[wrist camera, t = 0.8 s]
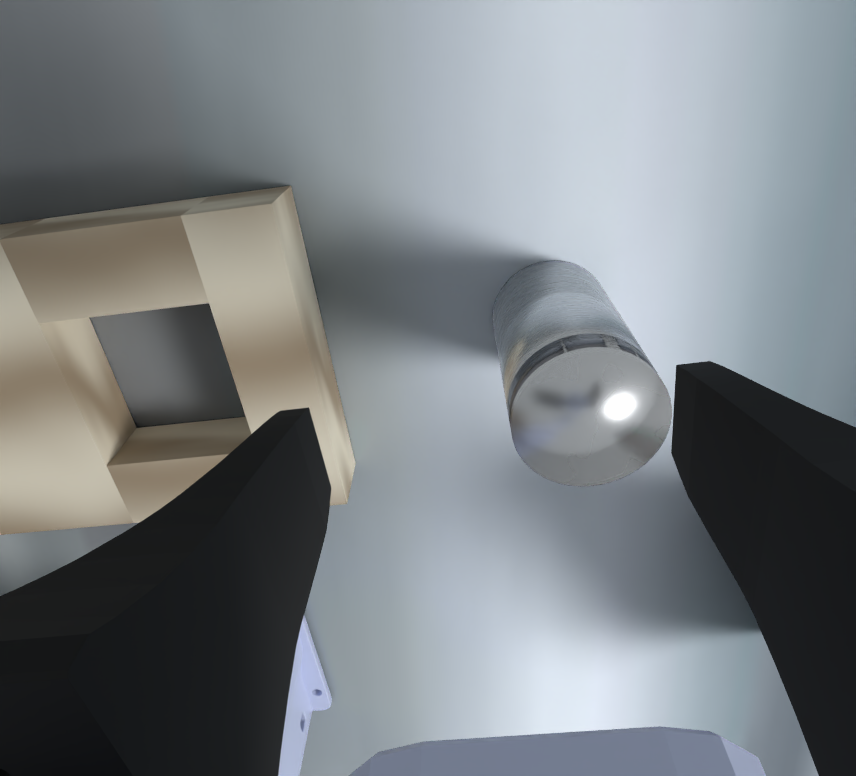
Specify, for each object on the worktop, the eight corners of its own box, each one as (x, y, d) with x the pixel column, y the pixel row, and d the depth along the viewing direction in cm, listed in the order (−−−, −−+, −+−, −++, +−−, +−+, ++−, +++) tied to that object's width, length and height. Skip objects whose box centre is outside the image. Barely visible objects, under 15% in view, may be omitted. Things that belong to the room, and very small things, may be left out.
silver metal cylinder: (606, 360, 22) (666, 479, 16) (496, 371, 23) (516, 492, 17) (608, 253, 21) (676, 344, 14) (487, 268, 21) (506, 361, 15)
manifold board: (355, 463, 25) (346, 503, 23) (-99, 506, 27) (-147, 547, 24) (291, 185, 20) (271, 203, 17) (-272, 261, 21) (-353, 285, 19)
